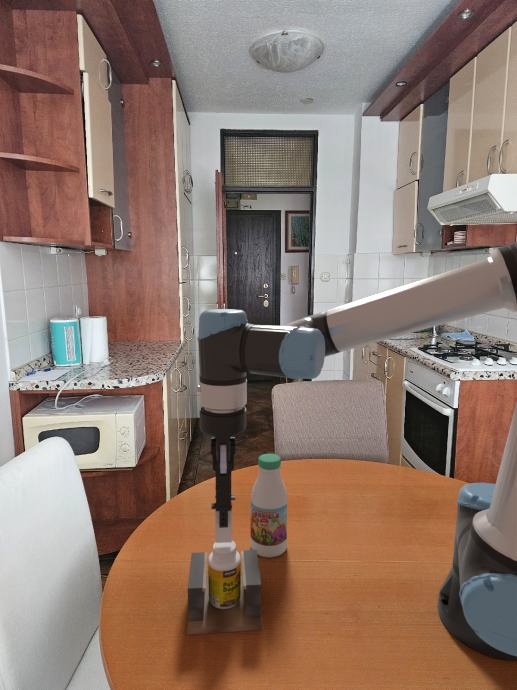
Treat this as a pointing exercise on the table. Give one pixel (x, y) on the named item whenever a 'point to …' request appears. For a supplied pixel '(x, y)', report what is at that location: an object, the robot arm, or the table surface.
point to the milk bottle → (269, 509)
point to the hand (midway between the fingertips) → (223, 539)
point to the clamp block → (224, 620)
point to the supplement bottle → (224, 575)
